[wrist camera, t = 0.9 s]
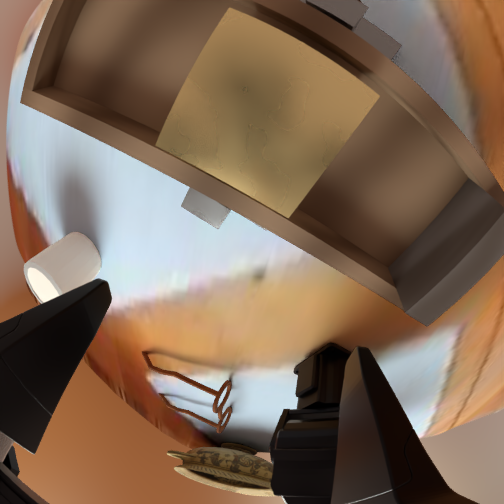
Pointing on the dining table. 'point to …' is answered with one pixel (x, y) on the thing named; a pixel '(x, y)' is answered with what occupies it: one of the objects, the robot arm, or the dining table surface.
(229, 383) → the glasses
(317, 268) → the dining table surface
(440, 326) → the dining table surface
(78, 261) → the white cup
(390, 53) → the pivot stand
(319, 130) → the brass block
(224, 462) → the ceramic bowl
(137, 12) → the beam
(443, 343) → the dining table surface
